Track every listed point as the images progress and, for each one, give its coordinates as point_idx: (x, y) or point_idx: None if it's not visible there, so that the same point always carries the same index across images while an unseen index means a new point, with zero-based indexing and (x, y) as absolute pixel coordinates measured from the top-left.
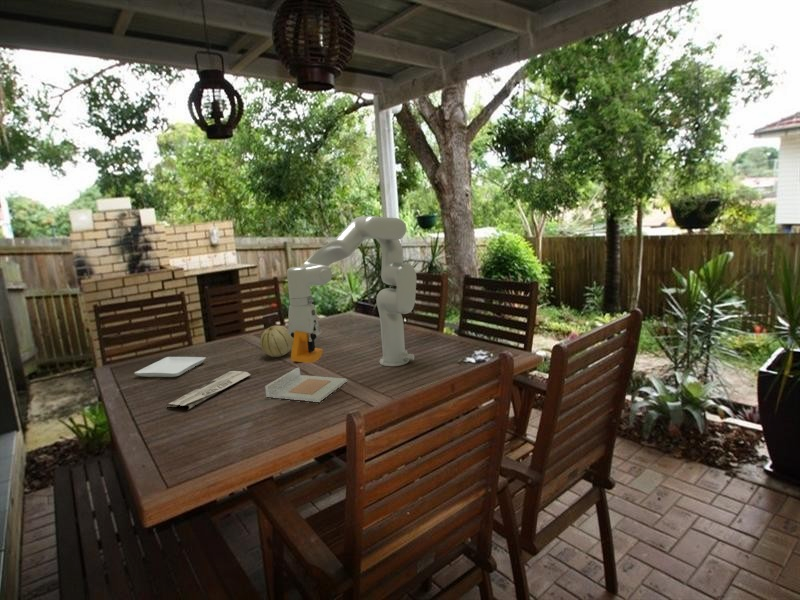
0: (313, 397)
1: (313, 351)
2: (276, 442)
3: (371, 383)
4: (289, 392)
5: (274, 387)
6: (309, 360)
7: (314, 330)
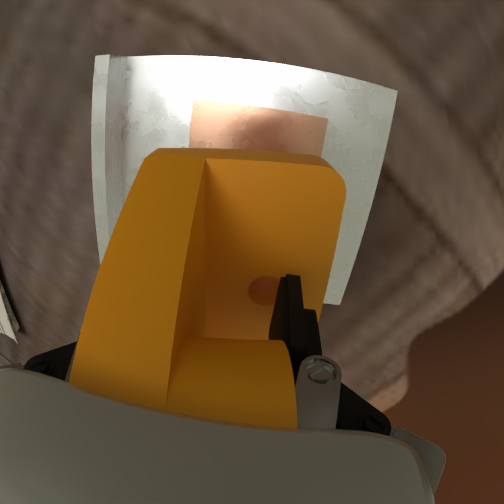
0: None
1: (282, 260)
2: None
3: (482, 114)
4: None
5: None
6: None
7: (338, 440)
